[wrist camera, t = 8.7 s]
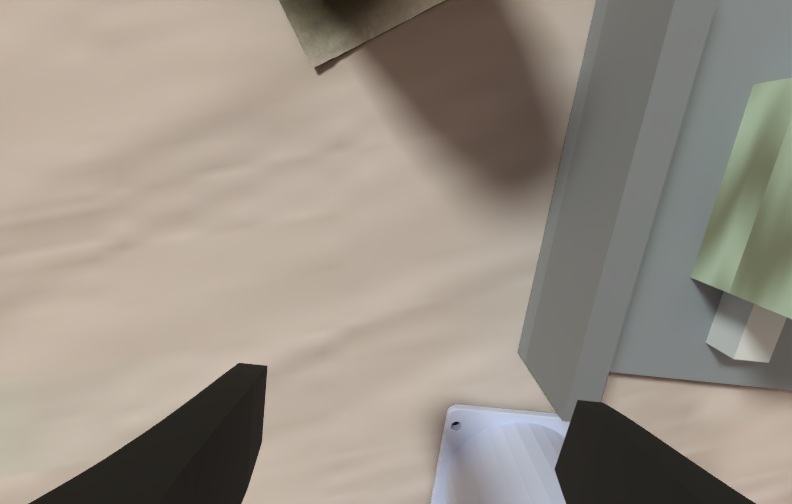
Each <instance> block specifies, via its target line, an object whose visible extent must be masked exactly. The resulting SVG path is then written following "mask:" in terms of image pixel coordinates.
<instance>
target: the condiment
mask: <svg viewBox="0 0 792 504" xmlns="http://www.w3.org/2000/svg"><path fill="white" fill-rule="evenodd" d="M279 1H280V3H281V5H282V7H283V9H284V11H285V13H286V15H287V17H288V19H289V21H290V23H291V25H292V27H293V29H294V31H295V33H296V35H297V37H298V40H299V42H300V44H301V46H302V48H303V50H304V52H305V54H306V56H307V58H308V60H309V62H310V64H311V66H312V68H314V67H316V66H319V65H320V64H322V63H324V62H326V61H328V60H330V59H332V58H335V57H337V56H339V55H341V54H343V53H345V52H347V51H349V50H351V49H353V48H355V47H357V46H358V45H360V44H362V43H364V42H366V41H368V40H371V39H373V38H374V37H376V36H378V35H380V34H382V33H384V32H386V31H388V30H390V29H391V28H393V27H395V26H397V25H399V24H401V23H403V22H405V21H407V20H408V19H412V18H413V17H415V16H416V15H418V14H420V13H422V12H424V11H425V10H427V9H429V8H431V7H433V6H435V5H437V4H439V3H441V2H443V1H445V0H279Z"/></svg>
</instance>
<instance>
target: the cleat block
mask: <svg viewBox="0 0 792 504" xmlns="http://www.w3.org/2000/svg"><path fill="white" fill-rule="evenodd" d="M691 278H693V279H696V280H698V281H700V282H703V283H705V284H708V285H710V286H713V287H715V288H717V289H720V290H722V291H725V292H727V293H729V294H732V295H734V296H737V297H739V298H742V299H744V300H746V301H749V302H751V303H754V304H756V305H758V306H761V307H763V308H766V309H768V310H771V311H773V312H775V313H778V314H780V315H783V316H785V317H787V318H790V319H792V78H787V79H781V80H776V81H770V82H765V83H759V84H754V85H753V88H752V91H751V94H750V97H749V100H748V103H747V106H746V109H745V112H744V115H743V118H742V121H741V124H740V127H739V131H738V134H737V137H736V140H735V143H734V146H733V149H732V152H731V155H730V158H729V161H728V164H727V167H726V170H725V173H724V176H723V179H722V182H721V186H720V189H719V192H718V195H717V198H716V201H715V204H714V207H713V210H712V213H711V216H710V219H709V222H708V225H707V228H706V231H705V234H704V238H703V241H702V244H701V247H700V250H699V253H698V256H697V259H696V262H695V265H694V268H693V271H692V274H691Z"/></svg>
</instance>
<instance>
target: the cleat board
mask: <svg viewBox="0 0 792 504" xmlns="http://www.w3.org/2000/svg"><path fill="white" fill-rule="evenodd" d="M787 78H792V0H596V4H595V8H594V13H593V17H592V22H591V26H590V31H589V35H588V40H587V44H586V49H585V53H584V58H583V62H582V67H581V71H580V76H579V80H578V85H577V89H576V93H575V98H574V102H573V107H572V111H571V116H570V120H569V125H568V129H567V134H566V138H565V143H564V147H563V152H562V156H561V161H560V165H559V170H558V174H557V178H556V183H555V187H554V192H553V196H552V201H551V205H550V210H549V214H548V219H547V223H546V228H545V232H544V237H543V241H542V246H541V250H540V255H539V259H538V263H537V268H536V272H535V277H534V281H533V286H532V290H531V295H530V299H529V304H528V308H527V313H526V317H525V322H524V326H523V331H522V335H521V340H520V344H519V348H518V354H519V356H520V357H521V359H522V360H523V362H524V363H525V365H526V366H527V368H528V369H529V371H530V373H531V374H532V376H533V377H534V379H535V380H536V382H537V383H538V385H539V386H540V388H541V389H542V391H543V392H544V394H545V395H546V397H547V399H548V400H549V402H550V403H551V405H552V406H553V408H554V409H555V411H556V412H557V414H558V415H559V417H560V418H561V420H562V421H566V422H570V421H571V418H572V415H573V412H574V409H575V406H576V403H577V400H584V401H593V402H601V398H602V395H603V391H604V388H605V384H606V381H607V378H608V374H609V372H614V373H624V374H633V375H643V376H653V377H663V378H673V379H683V380H693V381H703V382H713V383H723V384H733V385H742V386H752V387H762V388H772V389H782V390H792V319H790V318H787V317H785V316H783V315H780V314H778V313H775V312H773V311H771V310H768V309H766V308H763V307H761V306H758V305H756V304H754V303H751V302H749V301H746V300H744V299H742V298H739V297H737V296H734V295H732V294H729V293H727V292H725V291H722V290H720V289H717V288H715V287H713V286H710V285H708V284H705V283H703V282H700V281H698V280H696V279H693V278H691V274H692V271H693V268H694V265H695V262H696V259H697V256H698V253H699V250H700V247H701V244H702V241H703V238H704V234H705V231H706V228H707V225H708V222H709V219H710V216H711V213H712V210H713V207H714V204H715V201H716V198H717V195H718V192H719V189H720V186H721V182H722V179H723V176H724V173H725V170H726V167H727V164H728V161H729V158H730V155H731V152H732V149H733V146H734V143H735V140H736V137H737V134H738V131H739V127H740V124H741V121H742V118H743V115H744V112H745V109H746V106H747V103H748V100H749V97H750V94H751V91H752V88H753V85H754V84H759V83H765V82H770V81H776V80H781V79H787Z"/></svg>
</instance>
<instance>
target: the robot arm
mask: <svg viewBox="0 0 792 504" xmlns="http://www.w3.org/2000/svg"><path fill="white" fill-rule="evenodd" d="M266 377H267V366H263V365H253V364H244V363H238V364H237V365H236V366H234V367H233V368H232V369H230V370H229V371H227V372H226V373H225V374H223V375H222V376H221V377H220V378H218V379H217V380H216V381H214V382H213V383H212V384H210V385H209V386H208V387H207V388H205V389H204V390H203V391H201V392H200V393H199V394H197V395H196V396H195V397H193V398H192V399H191V400H189V401H188V402H187V403H185V404H184V405H183V406H181V407H180V408H178V409H177V410H176V411H174V412H173V413H172V414H170V415H169V416H167V417H166V418H165V419H163V420H162V421H161V422H159V423H158V424H156V425H155V426H153V427H152V428H151V429H149V430H148V431H146V432H145V433H143V434H142V435H140V436H139V437H137V438H136V439H134V440H133V441H131V442H130V443H128V444H127V445H125V446H124V447H122V448H121V449H119V450H118V451H116V452H115V453H113V454H112V455H110V456H109V457H107V458H106V459H104V460H102V461H101V462H99V463H98V464H96V465H94V466H93V467H91V468H89V469H88V470H86V471H84V472H83V473H81V474H79V475H78V476H76V477H74V478H73V479H71V480H69V481H67V482H66V483H64V484H62V485H61V486H59V487H57V488H55V489H54V490H52V491H50V492H48V493H47V494H45V495H43V496H41V497H40V498H38V499H36V500H34V501H33V502H31V503H29V504H241V503H242V501H243V498H244V496H245V493H246V491H247V488H248V485H249V482H250V479H251V476H252V472H253V469H254V466H255V463H256V459H257V456H258V453H259V450H260V446H261V443H262V431H263V418H264V404H265V391H266ZM453 422H459V424H457V425H451V424H452V423H453ZM430 504H756V503H754V502H752V501H751V500H749V499H748V498H746V497H745V496H743V495H741V494H740V493H738V492H737V491H735V490H734V489H732V488H731V487H729V486H728V485H726V484H725V483H723V482H722V481H720V480H719V479H717V478H716V477H714V476H713V475H711V474H710V473H708V472H707V471H705V470H704V469H702V468H701V467H699V466H698V465H696V464H695V463H693V462H692V461H690V460H689V459H688V458H686V457H685V456H683V455H682V454H680V453H679V452H677V451H676V450H674V449H673V448H671V447H670V446H669V445H667V444H666V443H664V442H663V441H661V440H660V439H658V438H657V437H655V436H654V435H653V434H651V433H650V432H648V431H647V430H645V429H644V428H642V427H641V426H639V425H638V424H636V423H635V422H633V421H632V420H630V419H629V418H627V417H626V416H624V415H622V414H621V413H619V412H618V411H616V410H614V409H613V408H611V407H609V406H608V405H606V404H604V403H602V402H593V401H584V400H577V403H576V406H575V409H574V412H573V415H572V418H571V421H570V422H566V421H562V420H561V418H560V417H559V415H558V414H556V413H545V412H534V411H524V410H513V409H503V408H492V407H481V406H471V405H460V404H456V405H452V406H450V407H449V408H448V410H447V414H446V419H445V425H444V430H443V436H442V441H441V447H440V452H439V458H438V463H437V469H436V474H435V480H434V485H433V491H432V496H431V502H430Z"/></svg>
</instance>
